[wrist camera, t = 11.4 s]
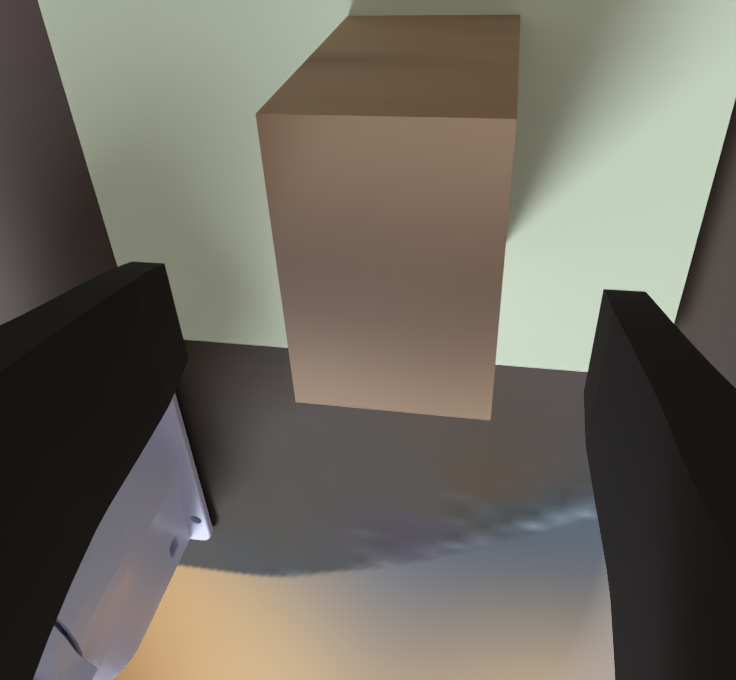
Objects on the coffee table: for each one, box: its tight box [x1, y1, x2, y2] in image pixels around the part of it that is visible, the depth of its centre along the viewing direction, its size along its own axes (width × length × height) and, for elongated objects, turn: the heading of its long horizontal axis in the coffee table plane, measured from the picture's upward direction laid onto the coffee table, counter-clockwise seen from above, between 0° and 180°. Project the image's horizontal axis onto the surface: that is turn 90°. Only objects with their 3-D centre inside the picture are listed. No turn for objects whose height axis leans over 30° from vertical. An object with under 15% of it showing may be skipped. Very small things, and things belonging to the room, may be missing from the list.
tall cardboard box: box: [256, 15, 520, 420], centre depth 15 cm, size 6×4×7 cm, turn 3°
